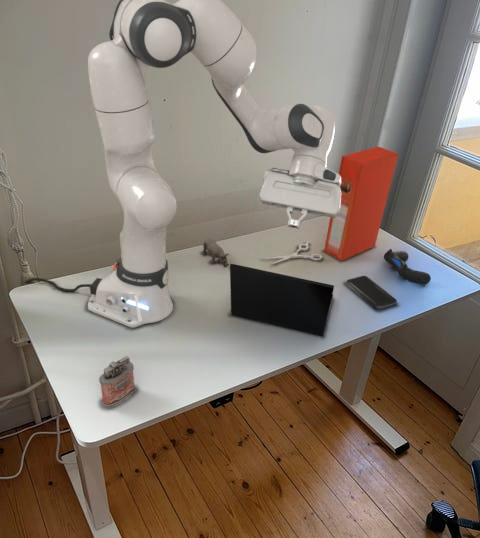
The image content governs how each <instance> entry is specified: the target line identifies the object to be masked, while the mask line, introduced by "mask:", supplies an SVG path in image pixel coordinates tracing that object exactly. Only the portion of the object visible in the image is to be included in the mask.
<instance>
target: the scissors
mask: <svg viewBox="0 0 480 538" xmlns="http://www.w3.org/2000/svg"><path fill="white" fill-rule="evenodd" d="M309 244H310V242H309V241H306V242H305V243H300V244H299V245H298V249H296V251H295V252H293V253H290V254H288V255H279V256H278V255H277V256H271V257H270V256H269V259H279V260H277V261H275V262H273V263H272V265H273V264H274V265H275V264H277V263H280V262H283V261H286V260H289V259H301V258H302V259H306V260H307V259H310V260H312V261H321V260H322V259H323V255H321V254H319V253H311V255H304V254H299V253H300V252H302V251H308V250H309V247H310V246H309ZM263 259H265V260H267V259H268V257H264V258H263Z"/></svg>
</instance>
